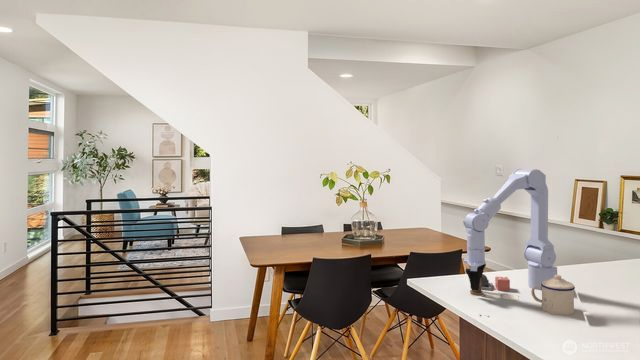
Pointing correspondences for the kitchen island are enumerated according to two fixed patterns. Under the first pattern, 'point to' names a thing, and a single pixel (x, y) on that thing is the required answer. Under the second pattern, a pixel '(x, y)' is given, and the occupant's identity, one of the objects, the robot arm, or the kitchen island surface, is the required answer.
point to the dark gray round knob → (484, 281)
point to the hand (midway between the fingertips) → (476, 286)
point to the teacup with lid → (556, 296)
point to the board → (496, 294)
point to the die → (502, 283)
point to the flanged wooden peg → (477, 291)
